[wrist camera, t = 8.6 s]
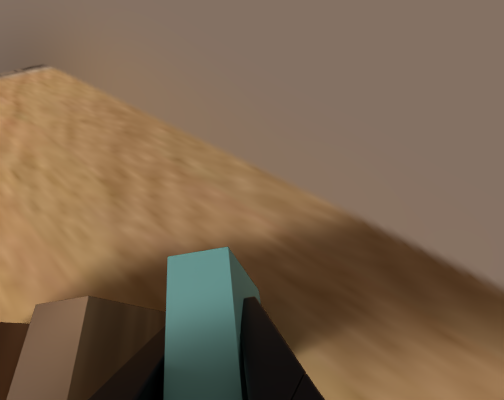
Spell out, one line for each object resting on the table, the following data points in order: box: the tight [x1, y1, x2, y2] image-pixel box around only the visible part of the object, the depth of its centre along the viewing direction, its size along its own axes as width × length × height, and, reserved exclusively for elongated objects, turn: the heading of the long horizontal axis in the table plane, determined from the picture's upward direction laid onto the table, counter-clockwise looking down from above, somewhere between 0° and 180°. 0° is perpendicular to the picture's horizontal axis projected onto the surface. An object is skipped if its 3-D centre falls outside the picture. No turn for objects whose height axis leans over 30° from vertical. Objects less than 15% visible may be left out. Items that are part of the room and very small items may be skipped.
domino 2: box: [6, 296, 166, 400], centre depth 10 cm, size 2×4×10 cm, turn 8°
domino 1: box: [0, 322, 30, 400], centre depth 10 cm, size 2×4×10 cm, turn 8°
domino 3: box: [163, 247, 261, 400], centre depth 10 cm, size 2×4×10 cm, turn 8°
